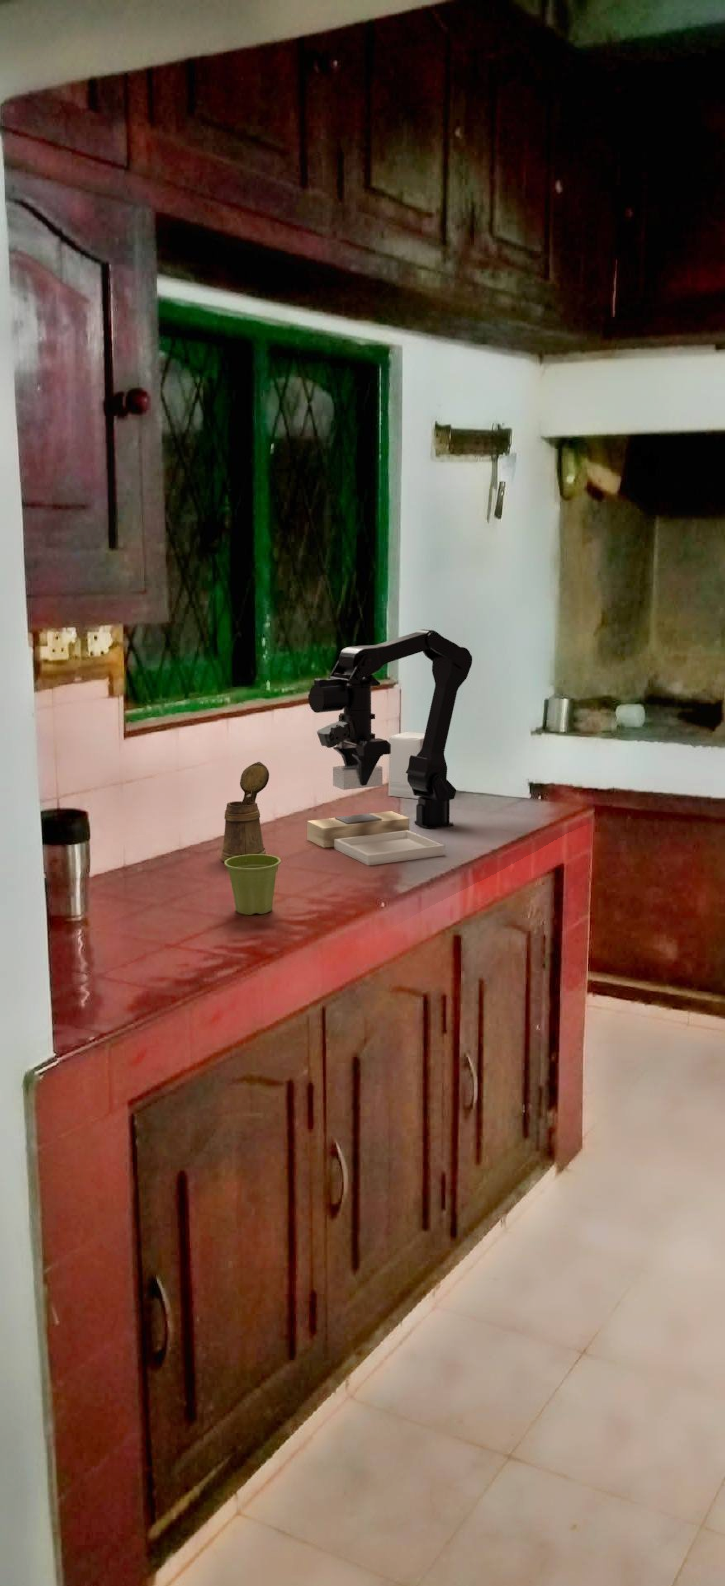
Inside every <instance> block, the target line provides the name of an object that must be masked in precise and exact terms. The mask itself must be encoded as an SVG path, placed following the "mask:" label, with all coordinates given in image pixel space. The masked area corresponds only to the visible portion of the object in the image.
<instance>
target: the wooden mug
mask: <svg viewBox="0 0 725 1586" xmlns="http://www.w3.org/2000/svg"><path fill="white" fill-rule="evenodd" d="M269 780H270V771H269V769H268V767H267V766H266V765H265V764H263V763H262V762H261V761H257V762H254V763H253V764H250V765H249V766H247V767H245V769H244V770H243V771H242V773H241V776H240V780H239V781H240V782H239V787H240V789H241V790H242V791H243V792H244V794H243V799H242V801H237V800H236V801H230V802H227V803H226V809H225V811H224V821H225V822H224V835H223V846H222V847H223V848H222V849H221V861H222V862H224V863H225V861H226V860H227V859H229V858H232V857H235V856H241V855H249V854H264V855H267V853H266V847H264V839H263V834H262V827H261V820H260V818H261V812H260V809H259V806H258V803H257V802H256V799H257V796H258V794H259V793H260V792H261V791H263V790H264V789H265V788H266V787H267V784H268V783H269Z"/></svg>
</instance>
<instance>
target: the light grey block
mask: <svg viewBox="0 0 725 1586" xmlns="http://www.w3.org/2000/svg"><path fill="white" fill-rule="evenodd" d="M332 786H333V787H335V788H338V789H339V790H343V791H345V790H346V791H347V790H355V789H357V790H358V789H363V788H364V789H366V788H374V787H383V766H380V765H378V764H376V766H375V768H374V770H373V772H372V774H371V776H370V778H369V781H368V783H367V785H365V786H362V785H361V782H360V775H359V766H358V765H347V766H345V765H339V766H333V767H332Z"/></svg>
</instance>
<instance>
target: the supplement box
mask: <svg viewBox="0 0 725 1586" xmlns="http://www.w3.org/2000/svg"><path fill="white" fill-rule="evenodd" d="M424 736H425V732H424V733H423V732H415V731H413V732H412V731H404V732H401V733H400V732H399V733H396V734H393V735H389V736H388V742H389V743H390V744H391V754H388V796H389V797H396V798H405V799H415V800H418V797H420V796H415V795H414V794H413V790H412V787H411V786H410V784H409V782H408V781H407V776H408V774H407V773H406V771H407V769H408V766H409V758H410V756H411V755H413V756H417V754H418V753H419V752H420V751H421V749H422V745H423V740H424Z"/></svg>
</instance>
